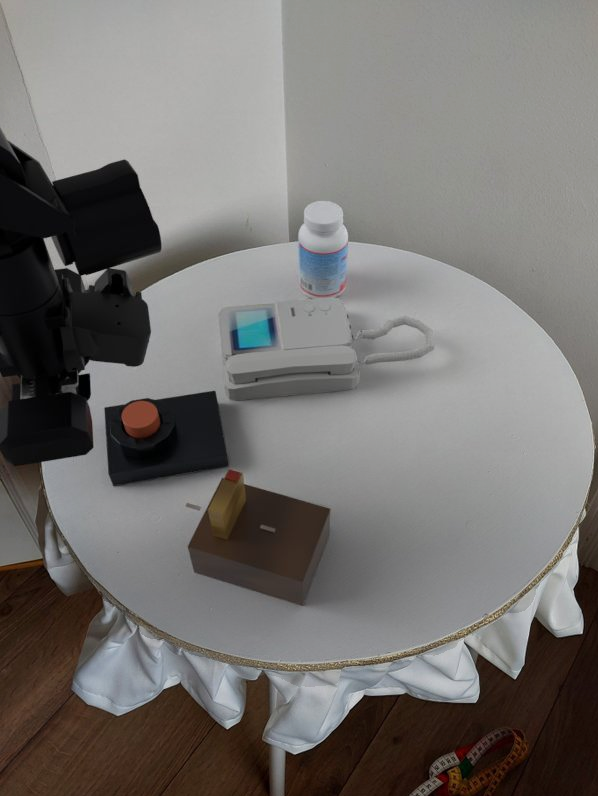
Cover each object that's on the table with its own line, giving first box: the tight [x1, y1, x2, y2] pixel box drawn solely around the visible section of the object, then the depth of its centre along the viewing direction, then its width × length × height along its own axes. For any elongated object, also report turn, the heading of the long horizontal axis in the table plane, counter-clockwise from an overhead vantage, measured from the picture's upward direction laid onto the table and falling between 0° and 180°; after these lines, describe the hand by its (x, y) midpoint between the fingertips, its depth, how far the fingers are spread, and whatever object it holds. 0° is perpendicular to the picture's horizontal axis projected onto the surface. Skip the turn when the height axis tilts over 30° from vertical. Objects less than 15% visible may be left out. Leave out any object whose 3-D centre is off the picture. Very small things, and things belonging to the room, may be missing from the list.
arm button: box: [122, 401, 160, 438], centre depth 74 cm, size 4×4×2 cm
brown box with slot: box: [185, 477, 332, 606], centre depth 69 cm, size 13×8×5 cm, turn 72°
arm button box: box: [103, 390, 230, 487], centre depth 77 cm, size 12×9×4 cm
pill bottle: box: [297, 200, 349, 299], centre depth 90 cm, size 6×6×11 cm
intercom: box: [217, 297, 435, 401], centre depth 85 cm, size 13×4×25 cm
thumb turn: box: [208, 468, 246, 540], centre depth 65 cm, size 5×1×5 cm, turn 162°
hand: (73, 425), depth 64 cm, fingers closed
